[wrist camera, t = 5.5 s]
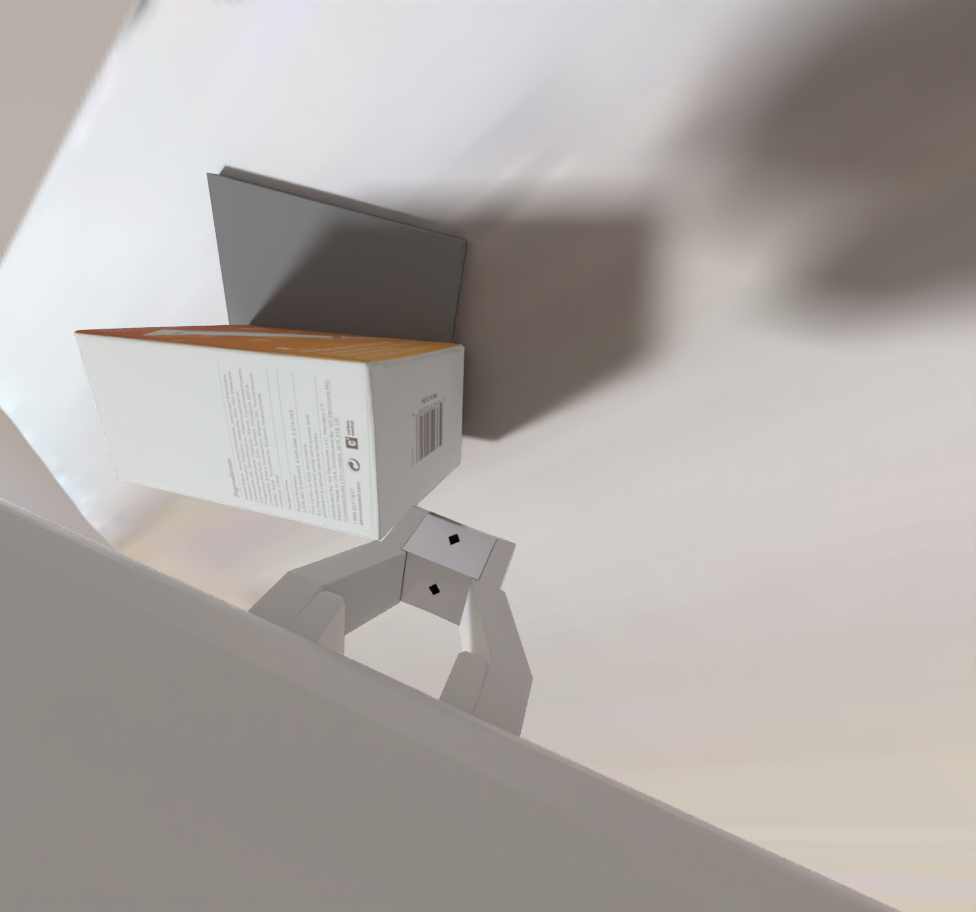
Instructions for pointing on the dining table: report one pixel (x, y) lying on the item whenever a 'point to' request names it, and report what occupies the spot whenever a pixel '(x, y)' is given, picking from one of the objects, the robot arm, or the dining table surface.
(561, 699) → the dining table surface
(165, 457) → the small box
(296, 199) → the mat
